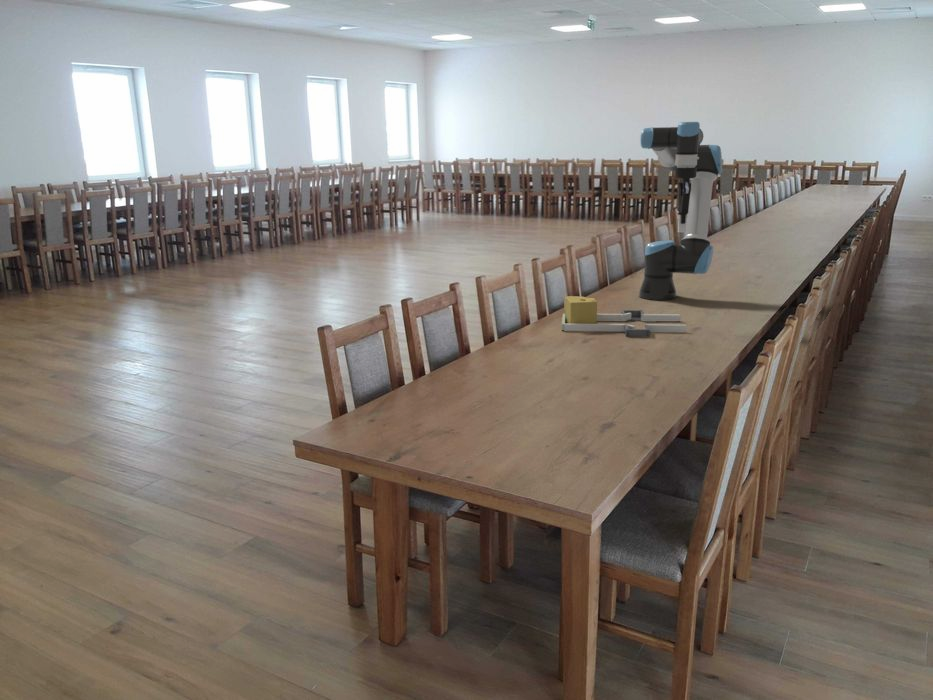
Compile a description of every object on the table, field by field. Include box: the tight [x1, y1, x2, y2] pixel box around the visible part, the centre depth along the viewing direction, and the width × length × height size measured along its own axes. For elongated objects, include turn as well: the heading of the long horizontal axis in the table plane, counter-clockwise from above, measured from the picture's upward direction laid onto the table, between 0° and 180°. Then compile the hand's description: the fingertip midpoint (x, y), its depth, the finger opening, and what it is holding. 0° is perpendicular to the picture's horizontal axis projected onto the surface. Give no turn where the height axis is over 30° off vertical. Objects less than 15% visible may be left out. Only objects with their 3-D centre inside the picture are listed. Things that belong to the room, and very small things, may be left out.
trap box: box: [561, 309, 687, 338], centre depth 273 cm, size 29×43×2 cm
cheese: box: [563, 295, 598, 324], centre depth 274 cm, size 10×11×10 cm
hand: (681, 232), depth 278 cm, fingers closed
